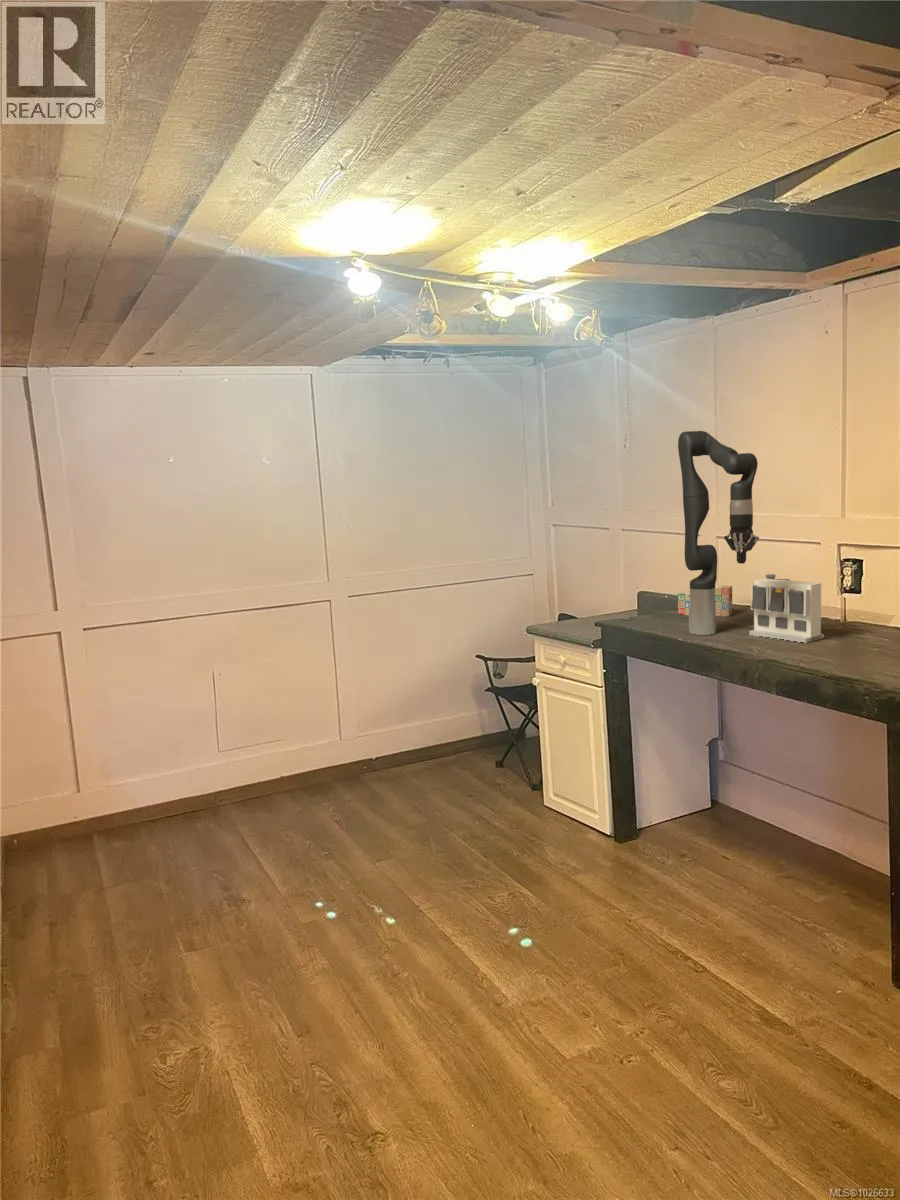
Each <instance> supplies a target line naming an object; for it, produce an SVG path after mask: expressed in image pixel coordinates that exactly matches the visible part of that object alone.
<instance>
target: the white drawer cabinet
mask: <svg viewBox="0 0 900 1200" xmlns="http://www.w3.org/2000/svg"><path fill="white" fill-rule="evenodd" d="M777 579H778V578H775V579H766V577H765V578H760V579H755V580H753V584H751V585H750V610H752V611H753V629H752V630H751V629H750V630H749V631H748V632H749V635H748V636H752V635H753V637H759V636H763V637H762V638H765V637H770V638H769V639H772V638H777V639H776V640H779V639H784V640H783V641H786V640H790V641H789V642H793V641H797V642H796V643H800V642H804V643H803V644H808V643H807V642H809V643H812V642H811V641H813V642H815V640H816V641H820V640H822V638H824V639H825V634H824V633H822V624H821V623H822V583H821V582H820V583H819V582H813V581H812V582H810V581H801V580H799V581H798V580H790V579H789V580H790V581H789V580H777ZM754 587H765V588H766V610H760V609H753V608H751V606H752V599H753V593H754ZM773 588H777V589H785V595H784V610H783V612H776V611H770V610H768V608H769V604H770V600H771V596H772V592H773ZM790 590H795V591H803V593H804V614H797V613H791V610H790V603H789V596H788V591H790ZM819 639H820V640H819Z"/></svg>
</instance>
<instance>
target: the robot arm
mask: <svg viewBox="0 0 900 1200" xmlns="http://www.w3.org/2000/svg"><path fill="white" fill-rule="evenodd" d="M677 449H678V450H677V451H678V457H679V464H680V471H681V481H682V504H683V517H684V563H685V567H686V568H687V570H688V571H701V573H700V574H699V575H698V576H696V577H695V578H694V577H693V578H692V579H691V580H689V592H690V607H689V615H688V632H689V633H690V634H691V635H694V634H695V636H711V634H712V635H715V634H716V632H717V630H716V625H717V623H716V621H717V620H716V619H717V618H716V617H717V616H716V606H715V585H716V583H717V573H718V551H717V549H716V547H715V546H714V545H713V544H700V545H699V544H698V537H699V532H700V529H701V528H702V525H703V523H704V522H705V519H707V518H706V517H707V516H708V514H709V512H710V511H709V510H710V497H709V494H710V493H709V489H708V487H707V485H706V484H705V482H704V481H703V480H702V478H701V477H700V476H699V474H698V472H697V470H696V468H695V463H694V458H693V457H702V456H709V458H710V460H711V461H712V463H714V464H715V465H717V466H718V467H719V466H720V467H721V468H722V469H723V470H724V471H725V472H726V473H727V474H728V475H732V476H737V475H739V476H740V475H741V478H740V479H739V480H738V481H734V482H732V483H731V484H730V488H729V489H730V493H729V494H730V495H729V497H730V500H729V526H730V529H729V533H727V535H725V536H723V539H724V541H726V544H727V545H728V546H729V547H730V549H731V551H734V552H735V553H736V563H737V564H745V563H746V562H747V552H749V551H752V549H753V548H754V546H755V545H756V543H758V541H759V539H760V537H759V535H758V536H756V535H755V534H754V531H753V525H754V518H753V517H754V505H753V485H754V481H755V477H756V473H757V469H758V463H759V462H758V459H757V456H756V455H755V454H754V453H751V452H746V453H745V452H744V453H738V451H737V450H736V449H733V448H732V447H730V446H727V445H725V444H723V443H721V442H720V441H718V440H717V439H716V438H714V436H712V435H711V434H710V433H709V432H707V431H704V430H695V431H694V430H693V431H692V430H691V431H690V430H689V431H688V430H687V431H683V432H681V433H680V434H679V436H678V441H677Z"/></svg>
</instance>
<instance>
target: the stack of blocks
mask: <svg viewBox="0 0 900 1200" xmlns="http://www.w3.org/2000/svg"><path fill="white" fill-rule="evenodd" d="M715 606H716V617H725V616H729V615H731V614H732V615H733V585H724V584H715ZM689 607H690V591H687V590H685V591H684V590H683V591H682V590H681V591H679V592H678V593H677V615H678V614H682V615H683V616H689ZM682 615H681V616H682ZM732 615H731V616H732ZM729 617H730V616H729Z"/></svg>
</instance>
